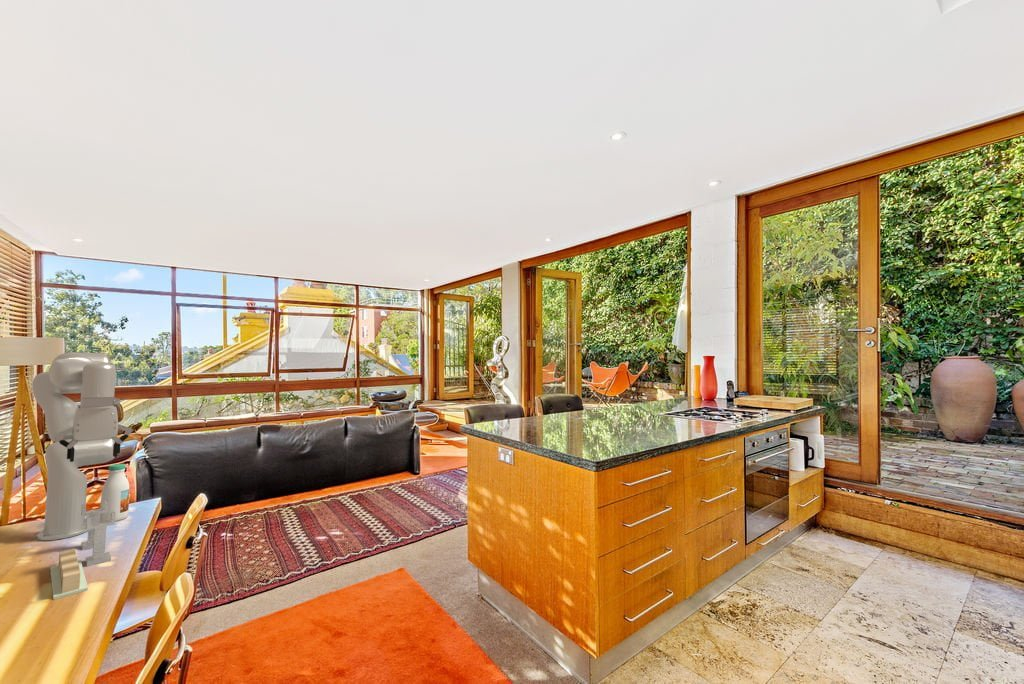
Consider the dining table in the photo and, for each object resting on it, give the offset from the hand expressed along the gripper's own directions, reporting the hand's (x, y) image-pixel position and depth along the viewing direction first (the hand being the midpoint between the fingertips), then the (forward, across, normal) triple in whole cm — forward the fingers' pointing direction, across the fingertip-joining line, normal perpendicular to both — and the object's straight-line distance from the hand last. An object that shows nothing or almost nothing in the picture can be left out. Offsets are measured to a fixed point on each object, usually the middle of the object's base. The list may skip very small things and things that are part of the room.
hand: (93, 458), depth 132 cm
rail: (+28, +5, +19) cm, 34 cm away
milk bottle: (+28, -9, -32) cm, 44 cm away
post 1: (+28, -2, -6) cm, 29 cm away
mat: (+28, +5, +19) cm, 34 cm away
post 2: (+28, -2, +10) cm, 30 cm away
